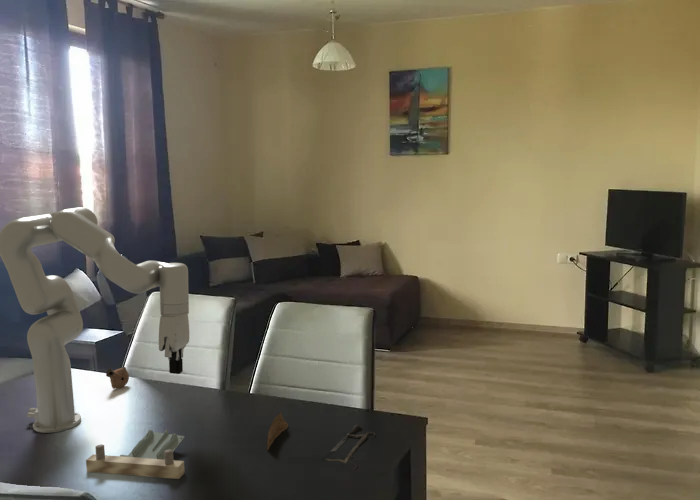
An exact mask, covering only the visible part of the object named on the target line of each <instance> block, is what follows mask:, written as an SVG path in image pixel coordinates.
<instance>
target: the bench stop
mask: <svg viewBox="0 0 700 500" xmlns="http://www.w3.org/2000/svg"><path fill="white" fill-rule="evenodd" d="M164 454H165V460H162V459H149V458H135V457H122V456H120V455H106V452H105V445H104V444H97V445H95V454H94V453H93V454H92V455H90V456H89V457H88V458H86V459H85V465H86V472H87V473H89V472H90V473H99V474H100V473H102V474H113V475H125V476H139V477H149V478H150V477H151V478H160V479H161V478H163V479H174V480H176V479H177V480H179V479H181V477H182V476H183V475H184V474H185V473H186V472H185V461H184V460H175V459H174V452H173V450H171V449H169V450H166V451H164Z"/></svg>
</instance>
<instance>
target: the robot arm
mask: <svg viewBox="0 0 700 500" xmlns="http://www.w3.org/2000/svg"><path fill="white" fill-rule="evenodd" d="M98 223H99V222H98V218H97V216H96V214H95V213H94V212H93V211H92V210H90V209H89V208H87V207H83V206H79V207H70V208H65V209H61V210H60V211H56V212H50V213H46V214H45V213H44V214H39V215H31V216H23V217H19V218H16V219H14V220H11V221H9V222H8V223H6V224H5V225H4V226H3V227H2V229H1V230H0V259H1V260H2V262H3V264H4V266H5V269H6V270H7V273H8V275H9V279H10V283H11V285H12V286H13V287H12V288H13V289H14V292H15V295H16V298H17V300H18V303H19V305H20V306H21V309H22V310H23V311H24V313H26V314H29V315H38V314H43V313H45V312H46V314H47V315H46V316H44V317H41V318H40V319H38V320H36V321H35V322H33V323H32V324H31V325H30V327H29V329H28V331H27V334H26V340H27V345H28V347H29V352H30V355H31V359H32V365H33V367H32V368H33V375H34V376H33V377H34V385H35V397H36V407H30V408H29V409H28V413H27V414H26V417H27V418H34V421H33V422H32V429H33V431H34V432H37V433H43V434H46V433H47V434H50V433H59V432H63V431H67V430H70V429H72V428H74V427H76V426H78V425H79V424H80V423H81V422H82V417H81V415H80V413H78V412H75V401H74V400H75V399H74V390H73V375H72V368H71V367H72V366H71V359H70V356H69V353H68V352H67V350H66V347H65V346H66V345H67V344H68V343H71V342H72V341H74V340H76V339H77V338H78V337H80V335H81V334H82V332H83V328H84V322H83V317H82V314H81V312H80V309H79V306H78V304H77V301H76V298H75V295H74V293H73V291H72V288H71V286H70V284H69V283H68V281H66V279H64V278H63V277H61V276H59V275H55V274H54V275H53V274H52V275H51V274H50V275H46V274H45V271H44V269H43V266H42V263H41V261H40V260H39V258H38V257H37V256H36V255H35V253H34V252H33V251H32V249H33V248H34V247H39V246H43V245H48V244H53V243H58V242H62V241H63V242H65V243H66V244H68V245H69V246H71V247H72V248H74V250H75V249H76V250H78V252H80V253H82V254H83V255H85V256H86V257H88V258H89V259H91V260H92V261H93V262H94V263H95V265H96V267H97V268H98V269H99V271H100V272H101V274H102V275H103V276H104V277H105V278H106V279H108V281H110V282H112V283H114V284H115V285H117V286H118V287H120V288H122V289H123V290H125V291H127V292H129V293H132V294H138V295H139V294H143V293H146V292H147V291H150V290H151V289H155V288H157V287H159V305H160V306H159V307H160V308H159V309H160V310H159V312H160V319H159V327H158V350H159V351H160V352H163V351H164V357H165V358H167V359H168V362H169V363H168V369H169V370H168V371H169V373H170V374H173V375H181V373H183V372H184V370H183V368H184V367H183V363H184V362H183V358H184V349H185V348H186V347H187V345H188V344H189V343H190V320H189V313H190V306H189V305H190V303H189V295H190V294H189V269H188V266H187V265H186V264H185V263H182V262H169V263H168V262H163V261H158V260H146V261H143V262H140V263H137V264H136V263H133V262H132V261H130V260H129V259H127V258H126V257H124V256H123V255H122V254H121V253H119V251H118V250H117V249H116V247H115V241H116V239H115V237H114V234H112V233H111V232H109V231H107V230H106V229H104V228H102V227H101V226H100V225H99V224H98Z"/></svg>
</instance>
